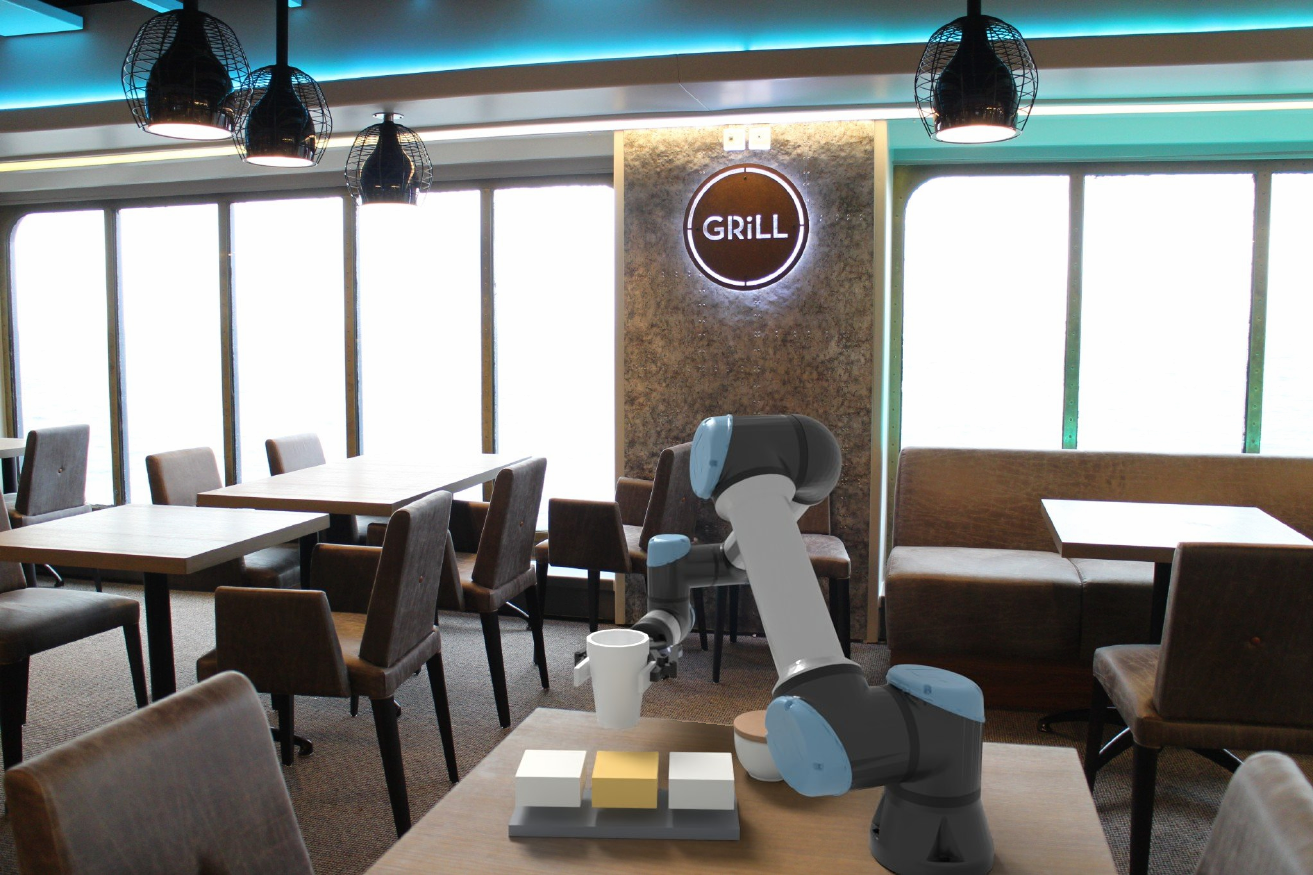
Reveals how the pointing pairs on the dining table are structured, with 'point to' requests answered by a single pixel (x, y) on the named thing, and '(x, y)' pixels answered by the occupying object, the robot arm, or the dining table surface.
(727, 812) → the keypad base
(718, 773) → the key
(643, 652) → the foam cup
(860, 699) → the robot arm
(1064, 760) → the dining table surface
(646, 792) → the amber key
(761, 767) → the lidded jar
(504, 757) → the dining table surface
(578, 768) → the key
